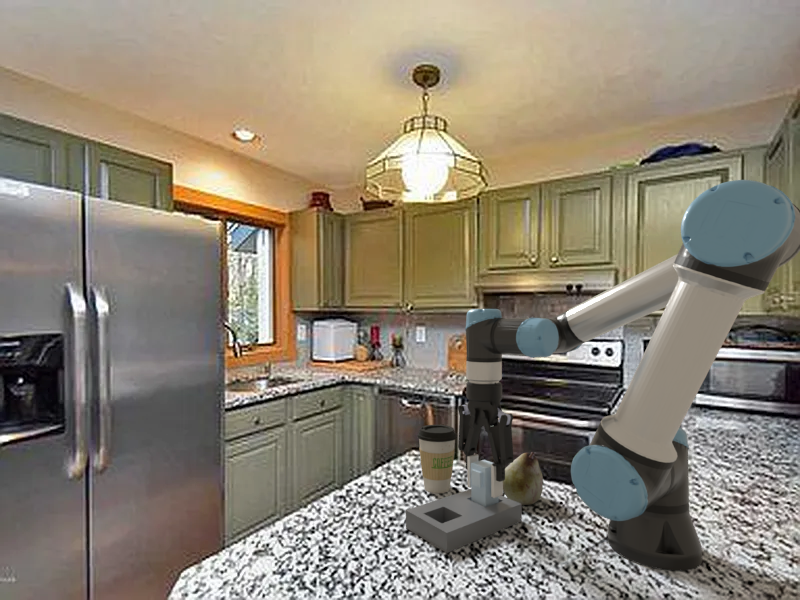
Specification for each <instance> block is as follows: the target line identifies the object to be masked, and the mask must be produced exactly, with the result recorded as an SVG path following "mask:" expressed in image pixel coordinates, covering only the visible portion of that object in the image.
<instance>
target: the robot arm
mask: <svg viewBox="0 0 800 600" xmlns="http://www.w3.org/2000/svg"><path fill="white" fill-rule="evenodd" d="M680 234H681V240H682V245H681V246H680V248H679V250H678V253H676V254H674V255H673V256H671V257H669V258H667V259H665V260H663V261H662V262H659V263H657V264H655V265H653V266H651V267H649V268H647V269H645V270H644V271H641V272H640V273H638V274H635V275H633V276H632V277H630V278H628V279H626V280H624V281H622V282H620V283H618V284H616V285H614V286H612V287H610V288H608V289H607V290H604V291H602V292H601V293H599V294H597V295H595V296H593V297H591V298H589V299H587V300H585V301H583V302H581V303H579V304H577V305H575V306H573V307H571V308H569V309H568V310H566V311H564V312H561V313H559V314H558V315H556V316H553V317H518V318H514V317H513V318H511V317H510V318H506V317H503V316H502V311H501V309H498V308H472V309H469V310H468V311H467V313H466V317H465V318H466V321H465V329H464V330H465V342H466V343H465V344H466V345H465V347H466V356H465V357H466V358H465V359H466V361H465V362H466V364H465V365H466V366H465V367H466V369H465V371H466V372H465V377H466V378H465V379H467V380H468V381H467V382H466V383H465V384H466V386H465V387H466V394H465V395H466V398H467V400H468V402H467V404H462V405H458V406H457V411H458V414H459V419H458V420H459V423H458V424H459V425H458V442H457V443H458V444H457V445H458V447H457V448H458V450H459V451H462V452H463V454H464V455H465V469H466V470H467V471H466V472H467V473H466V475H467V477H466V478H467V479H466V480H467V488H469V489H471V463H474V462H477V461H480V460H479V454H477V453H478V452H479V451H478V450H477V449H478V443H479V440H480V435H481V432H482V428H483V427H484V431H485V432H486V433H487V437H488V440H489V441H488V442H489V445H490V450H491V454H492V459H493V462H492V463H493V464H492V465H491V497H493V498H495V497H498V496H504V491H503V481H504V480H505V468H506V465H509V464H510V463H512V462H513V461H514V460H515V459H514V446H513V445H514V444H513V431H512V424H513V420H514V415H513V414H512V413H506V412H505V411H503V409H502V406H501V401H502V399H503V383H502V382H500V381H501V380H502V378H503V374H502V373H503V370H502V369H503V367H502V366H503V363H502V362H503V360H502V359H503V358H502V357H503V355H507V356H508V355H510V356H519V357H520V356H521V357H528V358H532V359H534V358H549V357H551V356H552V355H553V354H567V353H570V352H573V351H575V350H577V349H580V347H581V346H582V345H583V344H585V343H587V342H589V341H591V340H593V339H596V338H598V337H600V336H602V335H605V334H607V333H609V332H612V331H614V330H617V329H619V328H620V327H623V326H625V325H628V324H630V323H632V322H634V321H637V320H639V319H641V318H644V317H646V316H648V315H650V314H652V313H655V312H657V311H660V310H662V309H664V310H663V312H662V315H661V317H660V318H659V321H658V323H657V324H656V327H655V330H654V332H653V333H652V336H651V338H650V340H649V342H648V344H647V346H646V349H645V351H644V353H643V355H642V358H641V359H640V361H639V363H638V365H637V368H636V370H635V372H634V374H633V376H632V378H631V381H630V383H629V385H628V387H627V389H626V391H625V392H624V395H623V397H622V400H621V401H620V404H619V405H618V408H617V410H616V413H614V414H609V415H607V416H606V415H605V416H604V417H602V419H601V420H600V422H599V425H598V426H597V429H596V431H595V433H594V435H593V437H592V440H591V442H590V443H589V445H586V446H583V447H582V448H581V449H579V451H578V452H577V453H576V454H575V455H574V457H573V459H572V461H571V465H570V476H571V482H572V484H573V485H574V487H575V491H576V493H577V495H578V496H579V499H580V500H582V502H583V503H584V504H585V505H586V506H587V507H588V508H589V509H590V510H591V511H592V512H594V513H595V514H596V515H598V516H601V517H602V518H605V519H607V520H609V523H608V526H607V542H608V545H609V546H610V547H611V548H612V549H613V550H614V551H615V552H616V553H617V554H619V555H621V556H622V557H624V558H625V559H627V560H629V561H632V562H634V563H637V564H640V565H642V566H646V567H650V568H653V569H659V570H665V571H677V572H679V571H680V572H681V571H689V570H693V569H696V568H699V567H700V566H701V565H702V563H703V547H702V543H701V541H700V537H699V535H698V533H697V530H696V527H695V523H694V521H693V519H692V516H691V514H690V493H689V492H690V489H689V488H690V486H689V485H690V482H689V480H690V479H689V449H690V446H689V444H688V443H689V442H688V435H687V432H686V431H685V430H684V429H683V428H682V427H681V425H682V423H683V421H684V419H685V417H686V416H687V414H688V411H689V410H690V408H691V406H692V404H693V402H694V400H695V398H696V396H697V394H698V393H699V390H700V388H701V387H702V385H703V383H704V381H705V379H706V377H707V375H708V373H709V371H710V369H711V368H712V365H713V364H714V362H715V360H716V358H717V356H718V354H719V352H720V350H721V348H722V346H723V345H724V343H725V340H726V339H727V337H728V335H729V333H730V330H731V329H732V327H733V325H734V323H735V321H736V319H737V317H738V315H739V314H740V311H741V310H742V308H743V306H744V304H745V302H746V301H747V300H749V299H751V298H754V297H758V296H760V295H764V294H765V292H766V290H767V289H768V287H769V286H770V285H769V284H770V283H771V281H772V279H773V277H774V275H775V274H776V272H777V269H778V268H781V267H783V266H784V265H786V264H787V263H789V262H790V261H791V260H792V259H795V257H796V256H797V255H798V254H799V253H800V209H799V208H798V207H797V206H796V205H795V204H794V203H793V202H792V201H791V199H790V198H789V197H788V195H787V194H785V192H784V191H783V190H782V189H778V188H777V187H776V186H773V185H770V184H766V183H764V182H761V181H757V180H750V179H735V180H730V181H725V182H722V183H719V184H716V185H714V186H712V187H709V188H708V189H706V190H704V191H703V192H702V193H700V194H699V195H698V196H697V197H695V198H694V200H692V201H691V203H690V204H689V205H688V206H687V208H686V210H685V212H684V214H683V216H682V219H681V223H680Z"/></svg>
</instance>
